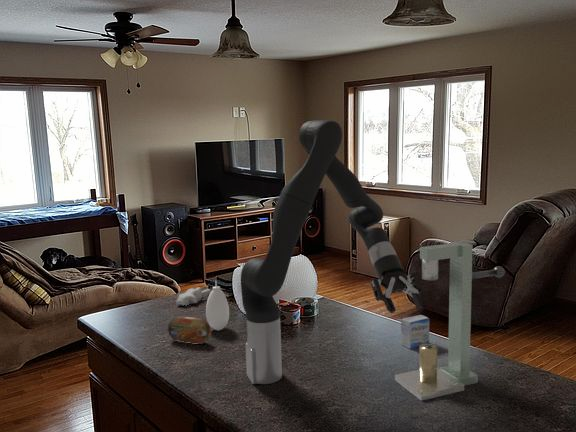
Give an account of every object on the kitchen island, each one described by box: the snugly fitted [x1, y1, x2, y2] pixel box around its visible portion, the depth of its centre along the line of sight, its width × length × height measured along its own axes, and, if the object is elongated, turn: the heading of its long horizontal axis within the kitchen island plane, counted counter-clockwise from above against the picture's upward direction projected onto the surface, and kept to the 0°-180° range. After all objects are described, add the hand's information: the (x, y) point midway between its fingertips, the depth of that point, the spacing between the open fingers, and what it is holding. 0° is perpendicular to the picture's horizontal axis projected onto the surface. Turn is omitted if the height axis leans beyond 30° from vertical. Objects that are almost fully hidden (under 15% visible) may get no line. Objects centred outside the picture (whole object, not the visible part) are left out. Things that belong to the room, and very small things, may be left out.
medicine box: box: [400, 314, 430, 350], centre depth 161 cm, size 8×4×9 cm, turn 117°
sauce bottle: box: [205, 280, 230, 331], centre depth 178 cm, size 8×8×18 cm
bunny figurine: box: [175, 287, 212, 307], centre depth 211 cm, size 10×5×15 cm
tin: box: [167, 315, 211, 345], centre depth 169 cm, size 15×3×8 cm, turn 68°
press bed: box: [394, 241, 506, 401], centre depth 136 cm, size 30×12×37 cm, turn 110°
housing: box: [418, 343, 438, 384], centre depth 135 cm, size 4×4×9 cm
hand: (406, 309), depth 142 cm, fingers open, 8 cm apart
